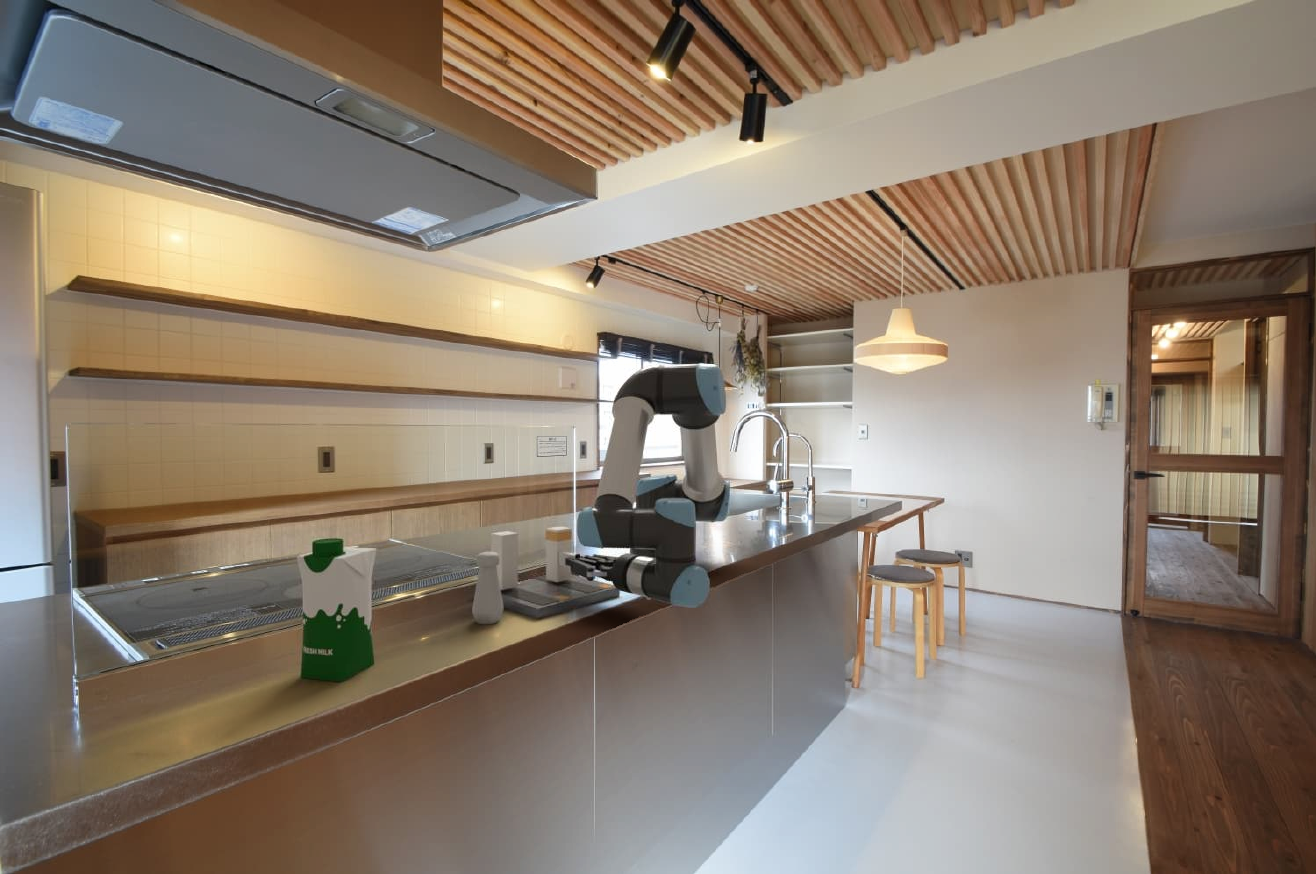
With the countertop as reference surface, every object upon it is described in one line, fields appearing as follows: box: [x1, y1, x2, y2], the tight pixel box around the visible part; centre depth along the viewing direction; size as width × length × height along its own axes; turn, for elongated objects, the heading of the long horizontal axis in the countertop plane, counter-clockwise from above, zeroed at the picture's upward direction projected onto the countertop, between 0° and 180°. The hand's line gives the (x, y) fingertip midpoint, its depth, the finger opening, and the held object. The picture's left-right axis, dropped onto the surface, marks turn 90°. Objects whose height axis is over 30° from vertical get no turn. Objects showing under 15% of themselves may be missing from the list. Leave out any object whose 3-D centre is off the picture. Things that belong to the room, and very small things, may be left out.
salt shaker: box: [471, 551, 504, 626], centre depth 114 cm, size 6×6×13 cm
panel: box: [500, 574, 621, 620], centre depth 131 cm, size 22×22×2 cm
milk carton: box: [296, 537, 378, 683], centre depth 90 cm, size 9×9×20 cm
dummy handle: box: [490, 530, 519, 590], centre depth 129 cm, size 4×4×12 cm
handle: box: [545, 525, 573, 582], centre depth 136 cm, size 4×4×12 cm
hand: (561, 557), depth 134 cm, fingers closed
